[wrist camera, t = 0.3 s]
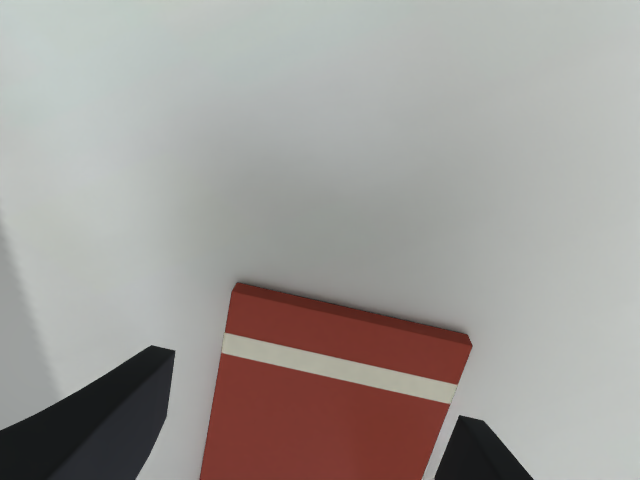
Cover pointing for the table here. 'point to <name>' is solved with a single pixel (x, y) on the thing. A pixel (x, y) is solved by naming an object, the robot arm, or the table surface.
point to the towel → (327, 391)
